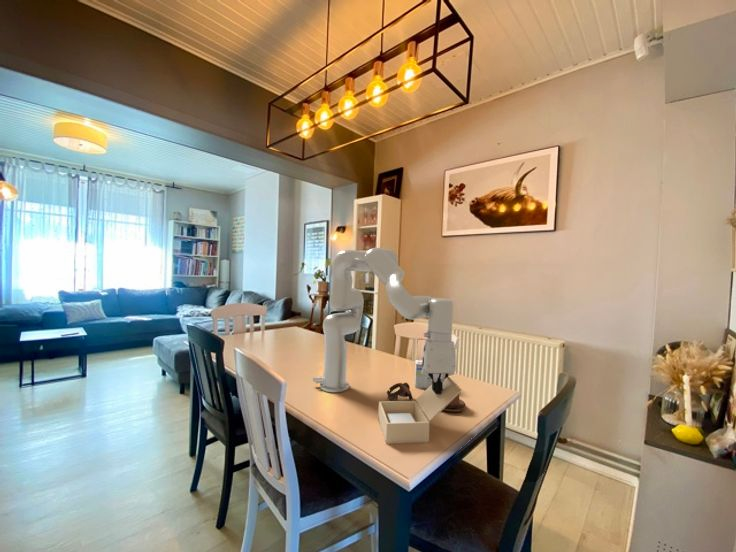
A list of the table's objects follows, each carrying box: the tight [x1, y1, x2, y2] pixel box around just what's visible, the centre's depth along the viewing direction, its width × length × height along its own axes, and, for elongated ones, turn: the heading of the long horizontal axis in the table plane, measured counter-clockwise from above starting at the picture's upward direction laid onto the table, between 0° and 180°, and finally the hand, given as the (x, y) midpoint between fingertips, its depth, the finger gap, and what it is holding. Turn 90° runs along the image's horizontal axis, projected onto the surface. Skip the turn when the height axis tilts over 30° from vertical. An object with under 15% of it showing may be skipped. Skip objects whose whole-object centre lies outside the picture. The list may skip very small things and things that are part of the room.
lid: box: [415, 376, 463, 423], centre depth 100 cm, size 14×15×3 cm
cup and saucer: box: [442, 392, 466, 413], centre depth 117 cm, size 12×12×6 cm
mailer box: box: [377, 400, 431, 445], centre depth 99 cm, size 13×15×6 cm
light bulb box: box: [414, 359, 438, 389], centre depth 137 cm, size 11×7×11 cm, turn 84°
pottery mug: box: [386, 382, 414, 401], centre depth 120 cm, size 12×10×8 cm
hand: (436, 392), depth 100 cm, fingers closed
